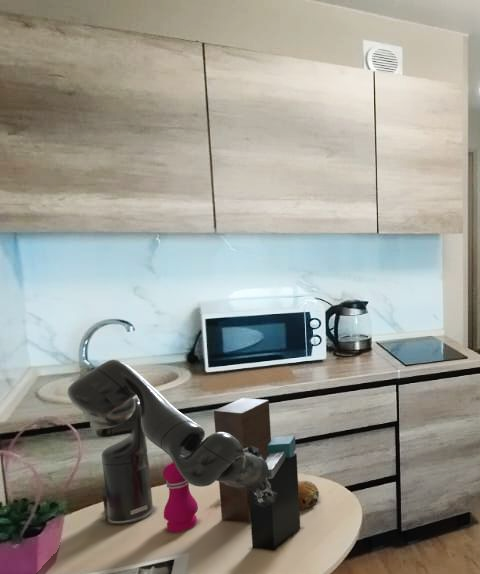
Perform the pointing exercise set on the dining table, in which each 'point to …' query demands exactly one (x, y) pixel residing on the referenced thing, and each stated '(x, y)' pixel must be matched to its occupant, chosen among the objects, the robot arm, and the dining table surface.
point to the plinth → (249, 432)
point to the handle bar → (279, 453)
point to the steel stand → (277, 509)
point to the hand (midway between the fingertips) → (268, 479)
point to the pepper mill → (178, 501)
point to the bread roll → (307, 494)
